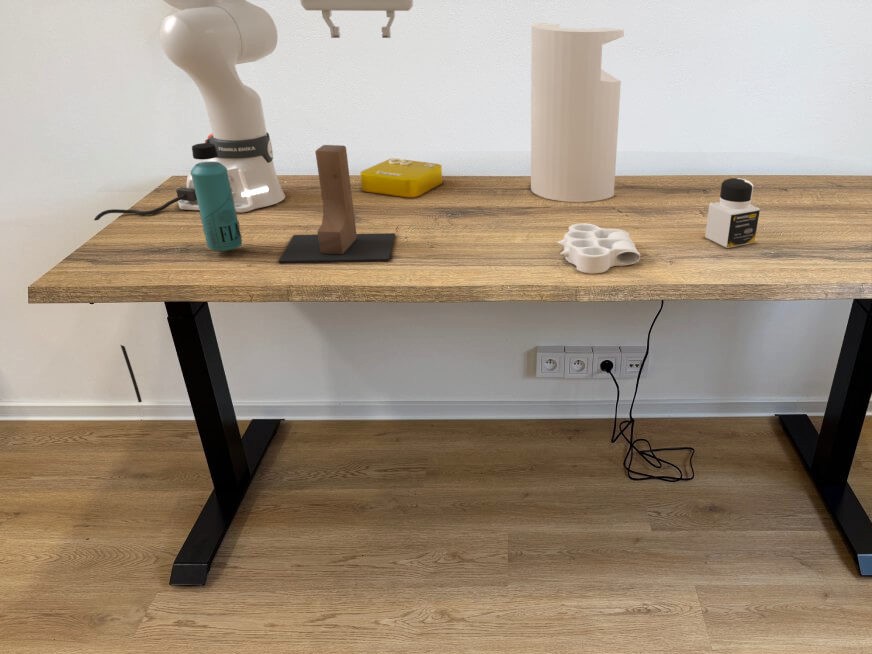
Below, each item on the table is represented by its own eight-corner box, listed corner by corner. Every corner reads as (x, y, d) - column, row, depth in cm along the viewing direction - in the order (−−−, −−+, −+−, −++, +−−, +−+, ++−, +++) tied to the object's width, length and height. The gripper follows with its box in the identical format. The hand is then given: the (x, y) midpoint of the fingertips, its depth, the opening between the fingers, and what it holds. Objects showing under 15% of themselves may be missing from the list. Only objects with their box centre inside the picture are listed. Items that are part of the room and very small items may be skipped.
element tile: (358, 191, 180) (356, 170, 178) (392, 175, 192) (390, 155, 190) (414, 199, 176) (412, 178, 173) (445, 182, 187) (444, 162, 185)
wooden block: (343, 255, 144) (330, 157, 135) (319, 254, 145) (305, 156, 135) (357, 238, 152) (346, 145, 143) (335, 237, 152) (322, 144, 143)
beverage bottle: (224, 261, 143) (199, 150, 132) (200, 254, 146) (175, 145, 135) (252, 250, 147) (231, 143, 137) (229, 244, 150) (206, 138, 140)
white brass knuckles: (642, 273, 140) (562, 274, 139) (625, 238, 155) (553, 239, 154) (644, 255, 138) (563, 256, 137) (626, 222, 153) (553, 223, 152)
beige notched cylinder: (539, 180, 189) (615, 195, 180) (513, 191, 181) (591, 207, 172) (541, 22, 171) (625, 29, 161) (512, 27, 163) (599, 34, 153)
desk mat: (279, 263, 142) (278, 260, 142) (293, 237, 154) (293, 234, 154) (388, 261, 143) (388, 258, 143) (395, 235, 155) (394, 233, 155)
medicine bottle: (726, 249, 151) (735, 187, 144) (704, 237, 156) (711, 178, 150) (755, 243, 153) (765, 183, 147) (731, 232, 159) (740, 173, 152)
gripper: (412, -48, 141) (418, 35, 148) (298, -49, 139) (309, 35, 147) (410, -47, 136) (416, 39, 143) (291, -48, 134) (303, 39, 141)
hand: (361, 37), depth 145 cm, fingers open, 8 cm apart
